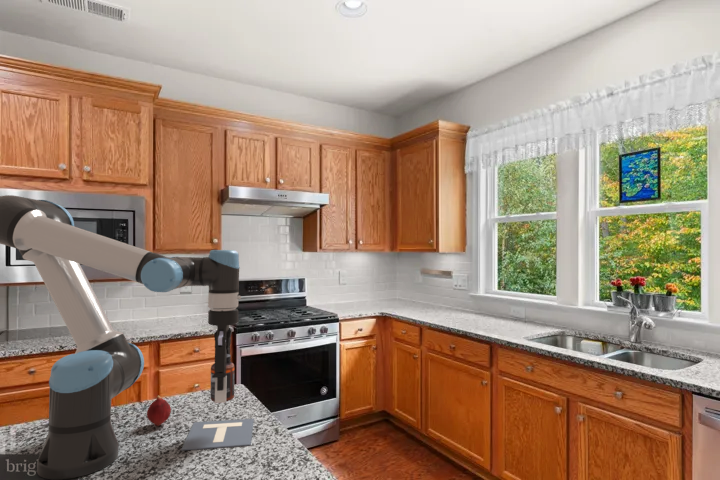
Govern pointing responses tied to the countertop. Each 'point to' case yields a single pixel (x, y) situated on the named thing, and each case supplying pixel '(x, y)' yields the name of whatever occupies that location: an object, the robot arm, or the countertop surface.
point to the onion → (158, 411)
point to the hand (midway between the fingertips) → (222, 397)
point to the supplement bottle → (230, 380)
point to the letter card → (219, 434)
